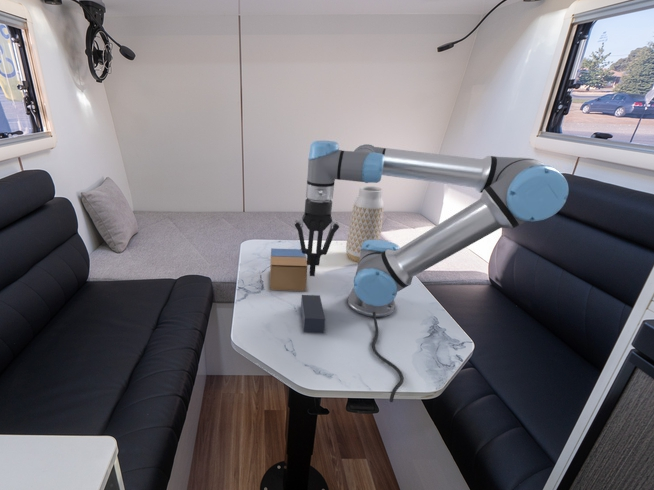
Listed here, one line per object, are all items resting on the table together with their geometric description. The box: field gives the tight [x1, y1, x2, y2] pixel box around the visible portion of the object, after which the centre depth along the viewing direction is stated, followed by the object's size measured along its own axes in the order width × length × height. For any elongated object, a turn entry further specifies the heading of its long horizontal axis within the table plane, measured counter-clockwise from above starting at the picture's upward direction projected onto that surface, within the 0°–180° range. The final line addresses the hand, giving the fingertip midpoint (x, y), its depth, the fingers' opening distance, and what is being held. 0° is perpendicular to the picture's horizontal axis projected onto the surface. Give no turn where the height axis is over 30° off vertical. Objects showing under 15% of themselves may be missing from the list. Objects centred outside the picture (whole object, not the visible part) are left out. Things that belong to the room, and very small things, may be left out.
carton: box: [269, 255, 308, 292], centre depth 140 cm, size 15×13×10 cm
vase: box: [345, 185, 385, 263], centre depth 156 cm, size 14×14×31 cm
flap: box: [270, 247, 307, 258], centre depth 141 cm, size 7×13×1 cm, turn 88°
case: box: [300, 294, 326, 334], centre depth 118 cm, size 14×6×5 cm, turn 178°
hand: (311, 274), depth 115 cm, fingers closed
